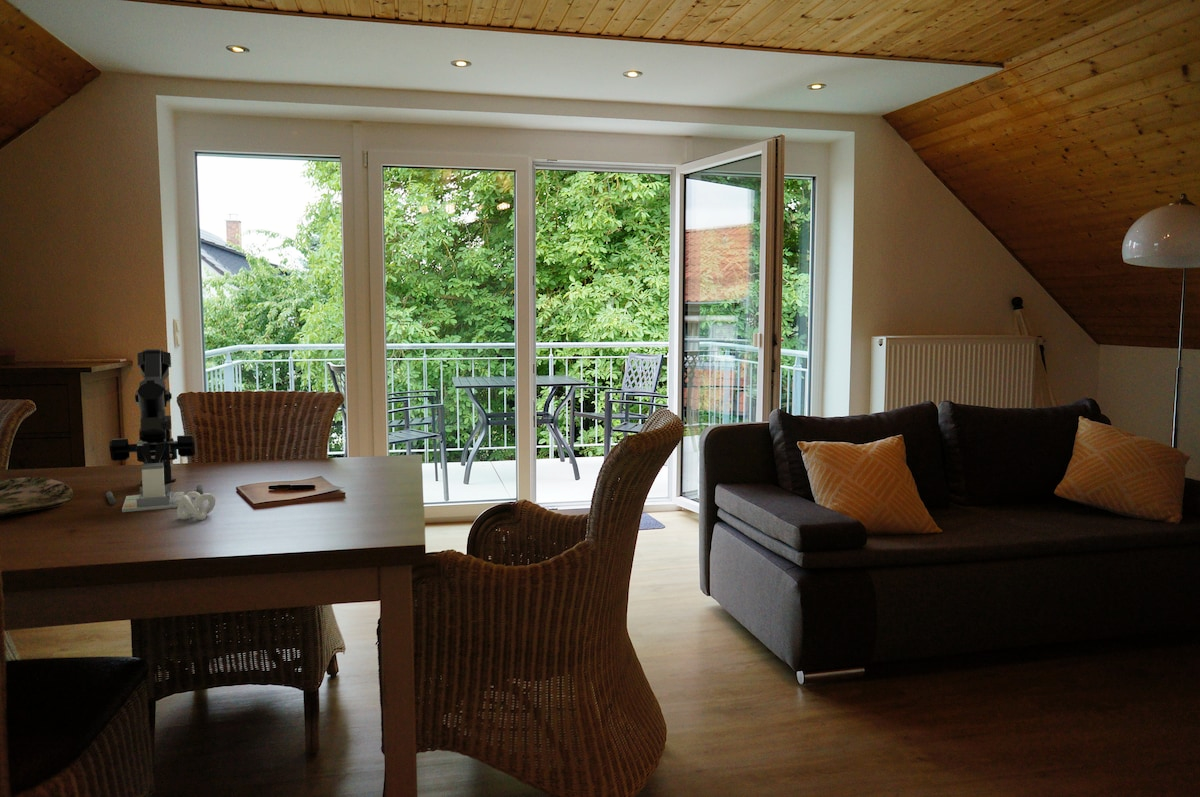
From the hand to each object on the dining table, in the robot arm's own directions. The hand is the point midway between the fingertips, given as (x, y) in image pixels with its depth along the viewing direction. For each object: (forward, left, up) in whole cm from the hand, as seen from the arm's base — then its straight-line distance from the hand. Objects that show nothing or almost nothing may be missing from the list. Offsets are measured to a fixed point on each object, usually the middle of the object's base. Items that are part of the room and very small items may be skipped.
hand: (153, 474), depth 206 cm
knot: (+23, -6, -7) cm, 24 cm away
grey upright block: (+2, -2, -6) cm, 7 cm away
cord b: (-12, -3, -7) cm, 14 cm away
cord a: (0, +13, -7) cm, 15 cm away
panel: (0, 0, -7) cm, 7 cm away
